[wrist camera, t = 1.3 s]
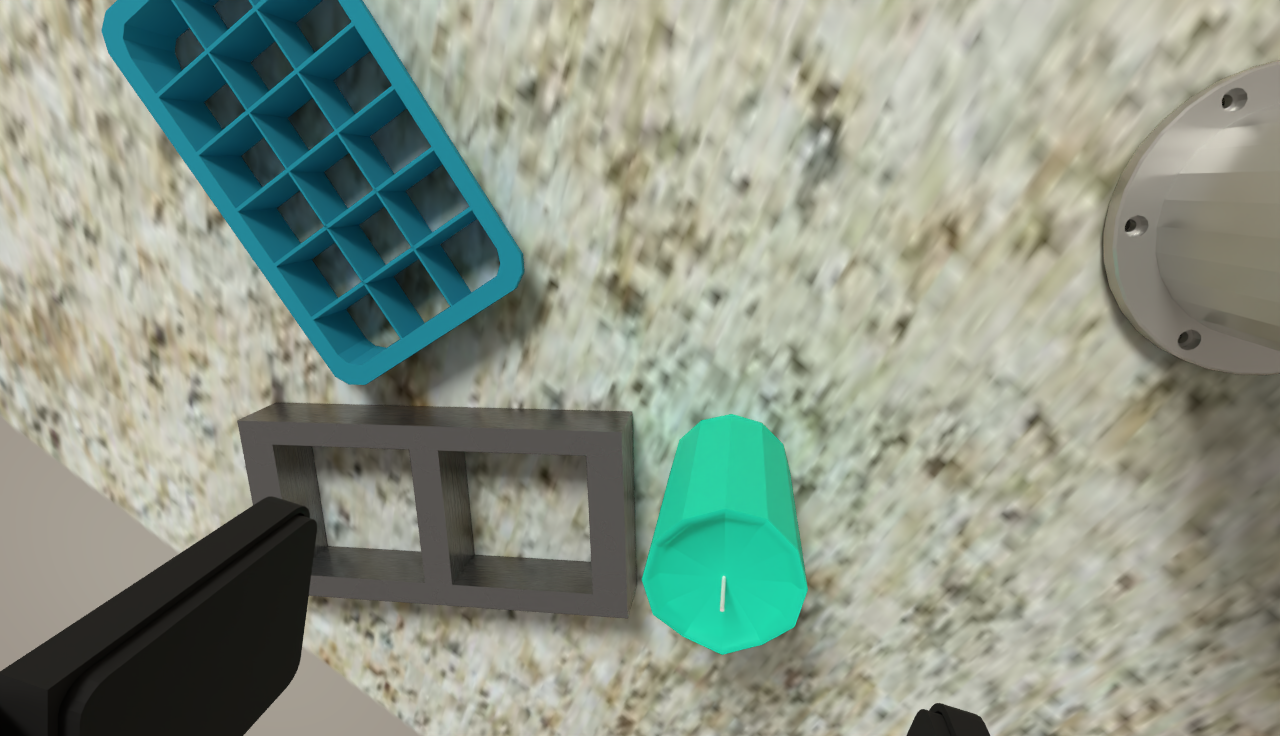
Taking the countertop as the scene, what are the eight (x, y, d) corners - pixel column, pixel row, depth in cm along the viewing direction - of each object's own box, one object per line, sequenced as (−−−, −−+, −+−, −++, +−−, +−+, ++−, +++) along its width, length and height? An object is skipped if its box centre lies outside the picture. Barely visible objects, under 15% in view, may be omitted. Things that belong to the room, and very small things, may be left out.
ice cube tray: (379, 379, 37) (348, 395, 34) (145, 40, 34) (89, 26, 31) (552, 268, 34) (534, 276, 31) (311, -115, 31) (266, -146, 28)
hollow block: (631, 411, 35) (621, 432, 32) (636, 584, 37) (627, 618, 34) (276, 402, 38) (237, 420, 35) (303, 563, 40) (269, 592, 37)
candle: (650, 445, 35) (603, 572, 24) (754, 393, 33) (758, 502, 22) (707, 540, 36) (689, 707, 24) (811, 493, 34) (843, 648, 23)
